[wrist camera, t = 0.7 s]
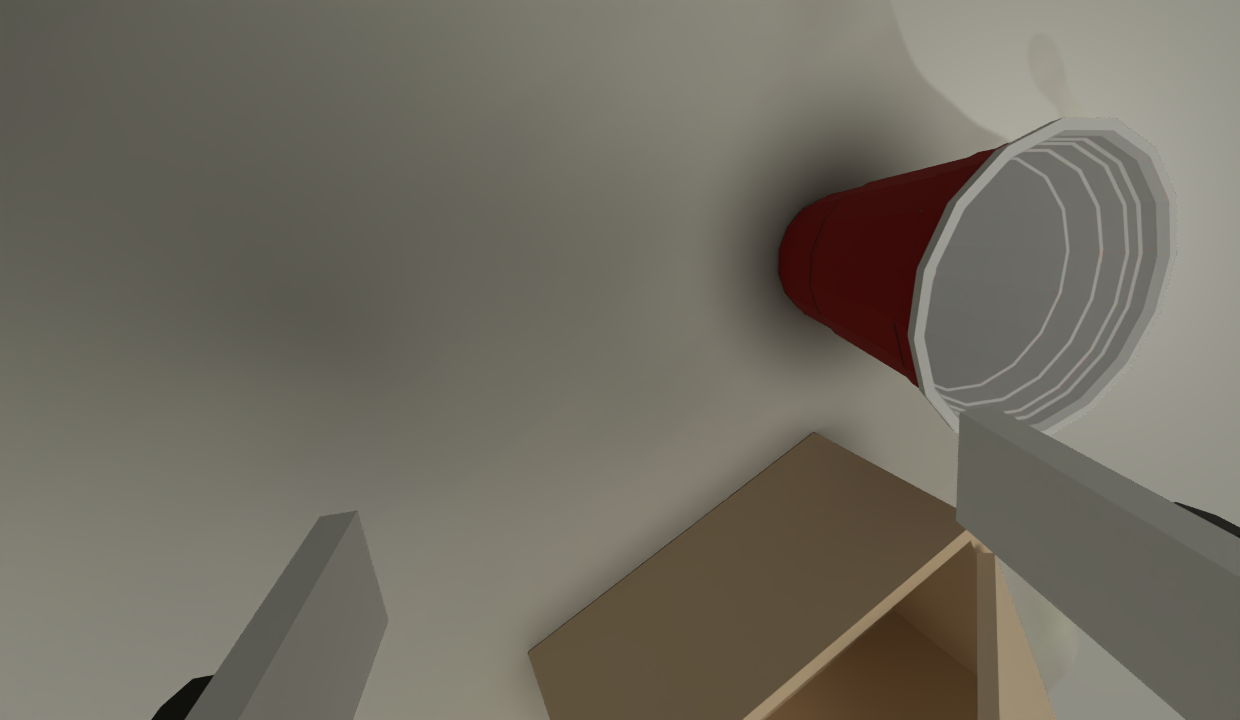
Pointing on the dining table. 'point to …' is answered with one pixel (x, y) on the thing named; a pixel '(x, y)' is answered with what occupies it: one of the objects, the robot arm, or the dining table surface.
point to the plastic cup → (999, 270)
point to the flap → (1004, 653)
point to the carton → (785, 609)
